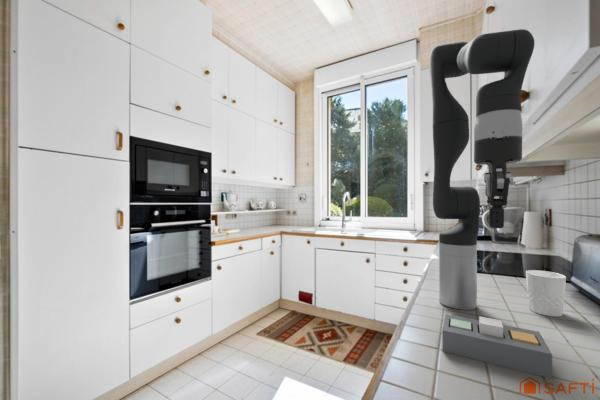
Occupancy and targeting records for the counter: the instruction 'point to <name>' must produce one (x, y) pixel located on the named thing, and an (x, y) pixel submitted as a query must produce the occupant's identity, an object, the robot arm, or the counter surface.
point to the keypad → (498, 347)
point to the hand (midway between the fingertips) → (496, 227)
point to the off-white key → (491, 327)
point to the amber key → (523, 337)
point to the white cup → (545, 292)
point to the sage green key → (460, 324)
